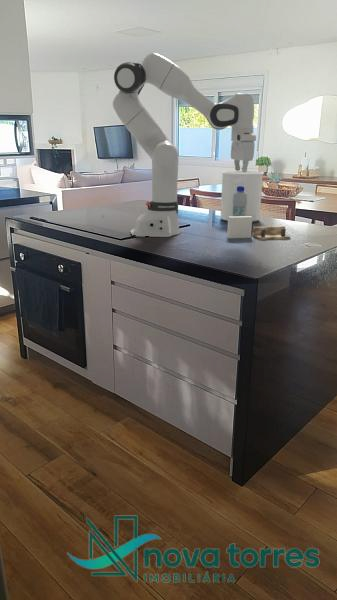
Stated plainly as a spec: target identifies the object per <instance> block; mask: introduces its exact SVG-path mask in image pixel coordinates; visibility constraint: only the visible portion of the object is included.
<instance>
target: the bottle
mask: <svg viewBox="0 0 337 600" xmlns="http://www.w3.org/2000/svg"><path fill="white" fill-rule="evenodd" d="M243 191H244V187H243V186H238V187H237V192H235V193H234V196H233V216H245V213H246V204H247V193H245V192H243Z"/></svg>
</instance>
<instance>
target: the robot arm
mask: <svg viewBox="0 0 337 600" xmlns="http://www.w3.org/2000/svg"><path fill="white" fill-rule="evenodd" d="M116 67H117V68H116V69H115V71H114V74H113V80H114V83H115V86H116V88H118V90H119V92H118V93H117V94H116V95H115V97H114V99H113V101H112V107H113V110H114V111H115V113H116V115H117V117H118V118H119V120H120V121H121V123H122V124H123V125H124V127H125V128H126V130H128V131H129V133H130V134H131V135H132V137H133V138H134V139H135V141H136V142H137V144H139V146H140V148H142V150H144V152H145V153H146V154H147V156H148V157H149V158H150V159H151V185H152V186H151V201H149V200H148V201H146V202H145V205H146V206H147V210H146V211H145V212H143V213H142V214H141V215H139V216H138V217H137V218H136V220H135V225H134V228H132V229H130V232H131V233H130V235H131V234H132V235H131V236H133V235H136V236H135V237H145V236H149V237H157V238H160V237H161V238H169V237H172V236H176V235H179V234H181V230H180V226H179V220H178V218H179V217H178V213H179V202H178V177H179V176H178V174H179V157H180V156H179V151H178V149H177V147H176V146H175V145H174V144H173V143H172V142H171V140H170V139H169V138H168V137H167V136H166V134H165V133H164V131H163V130H162V128H161V127H160V125H159V124H158V123H157V122H156V120H155V119H154V118H153V117H152V115H151V114H150V112H149V111H148V109H147V108H146V107H145V106H144V104H143V103H142V102H141V101H140V98H139V95H140V93H141V91H142V90H143V88H144V86H145V84H150V85H152V86H154V87H156V89H158V90H159V91H160V92H162V93H164V94H165V95H168V96H170V97H171V98H173V99H176V100H179V101H181V102H183V103H186V104H188V105H189V106H191V107H192V108H193V109H194V110H196V111H198V112H199V113H200V114H202V115H203V117H205V119H206V120H207V123H208V124H209V125H210V126H211V128H212V129H215V130H219V131H222V130H224V129H226V128H228V127H231V134H230V135H231V141H230V142H231V146H230V147H231V149H230V158H231V160H233V161H234V162H233V163H234V171H242V172H247V171H248V166H249V162H252V161H253V159H254V157H255V156H254V155H255V146H256V145H255V143H256V142H257V135H256V134H255V131H254V118H255V102H254V98H253V97H252V95H250V94H248V93H243V92H242V93H241V92H236V93H234V95H232V96H230V97H229V98H227V99H225V100H224V101H221V102H218V103H216V102H213V101H212V100H211V99H209V98H208V97H206V96H205V95H204V94H202V92H200V91H199V90H198V89H197V88H196V87H195V85H194V84H193V82H192V80H191V79H190V77H189V75H188V74H187V73H186V72H185V71H184V70H183V69H182V68H181V67H180V66H179V65H177V64H176V63H175V62H173V61H171V60H170V59H168V58H166V57H165V56H163V55H160V54H159V53H156V52H150V53H148V54H147V55H146V56H145V57H144V59H143V60H142V61H141V63H139V62H133V61H127V62H124V63H121V64H119V65H118V66H116ZM241 161H242V167H241V166H240V162H241Z"/></svg>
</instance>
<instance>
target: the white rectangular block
mask: <svg viewBox="0 0 337 600" xmlns="http://www.w3.org/2000/svg"><path fill="white" fill-rule="evenodd" d="M252 225H253V223H252V217H251V216H231V217H228V222H227V231H226V232H227V233H226V234H227V235H226V238H228V239H248V238H249V239H251V237H252V230H253V229H252Z"/></svg>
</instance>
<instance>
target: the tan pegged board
mask: <svg viewBox="0 0 337 600" xmlns="http://www.w3.org/2000/svg"><path fill="white" fill-rule="evenodd" d="M286 232H287V231H286V226H283V225H282V226H280V225H279V226H277V225H276V226H275V225H274V226H253V229H252V232H251V237H254V238H255V239H257V240H259V241H262V240H263V241H267V240H269V241H271V240H291V235H288V234H286Z"/></svg>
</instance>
